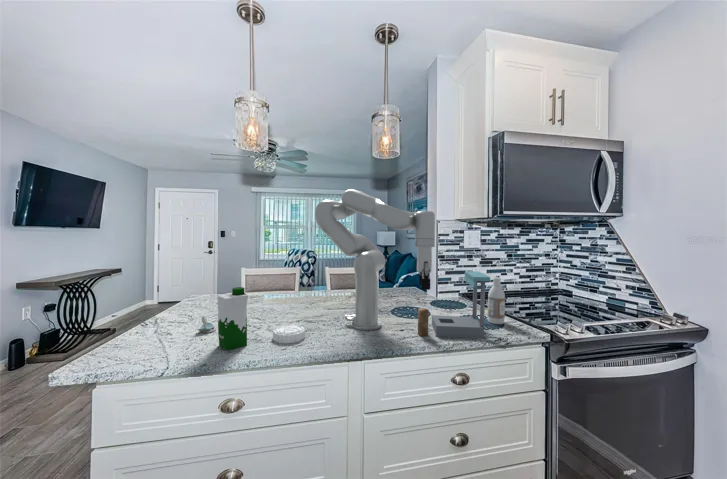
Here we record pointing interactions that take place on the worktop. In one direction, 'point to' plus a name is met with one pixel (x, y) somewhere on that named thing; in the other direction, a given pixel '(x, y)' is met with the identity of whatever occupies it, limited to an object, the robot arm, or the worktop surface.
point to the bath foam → (496, 303)
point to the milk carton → (232, 319)
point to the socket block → (457, 326)
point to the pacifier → (206, 326)
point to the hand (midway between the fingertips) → (424, 286)
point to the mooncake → (289, 334)
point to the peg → (423, 321)
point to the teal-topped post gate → (472, 279)
